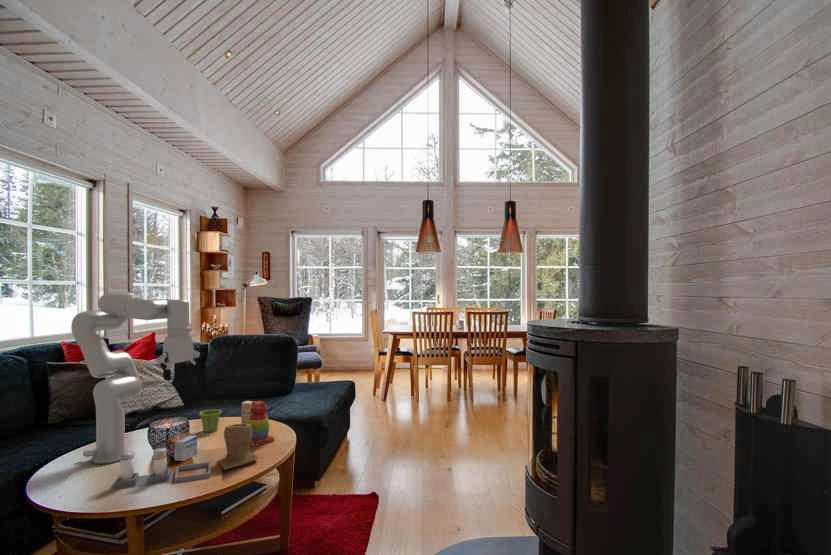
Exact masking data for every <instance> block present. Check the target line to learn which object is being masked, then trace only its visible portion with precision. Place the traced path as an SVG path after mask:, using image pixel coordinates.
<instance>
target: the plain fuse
mask: <svg viewBox="0 0 831 555" xmlns="http://www.w3.org/2000/svg"><path fill="white" fill-rule="evenodd" d="M119 466H120V467H119V471H120V472H119V473H120V474H119V475H120V481H121V480H129V479H134V473H135V452H134V451H128V452H124V453H122V454H120V461H119Z"/></svg>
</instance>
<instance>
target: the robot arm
mask: <svg viewBox="0 0 831 555" xmlns="http://www.w3.org/2000/svg"><path fill="white" fill-rule="evenodd" d="M97 307H98V308H99V309H94V310H92V309H91V310H86V311H85V310H84V311H81V312H79V313H77V314H75V316H74V317H73V319H72V321H71V325H70V327H71V329H70V330H71V334H72V336H73V339H74V340H75V342H76V343H77V345H78V346H79V348H80V350H81V352H82V356H83V358H84V361H85V364H86V366H87V369H88V370H89V373H90V375H91V376H92V377H93V378H94V379H95V378H97V379H101V378H106V377H107V378H106V379H103V380H100V381H99V382H98V383H96V384H95V386H94V388H93V390H92V393H93V400H94V405H95V418H96V419H95V422H96V424H95V426H96V427H95V429H96V430H95V431H96V432H95V433H96V434H95V438H96V439H95V440H96V441H95V442H96V444H95V448H93V449H89V450H87V449H86V450H83V452H82V456H84V457H85V458H87V457H91V463H92V464H96V465H105V464H106V465H107V464H113V463H117V462H120V454H122V453H124V452H129V450H127V449H125V446H126V445H125V441H126V440H125V439H126V437H125V435H126V431H125V429H126V428H125V425H126V424H125V422H126V420H125V419H126V416H125V414H126V413H125V409H124V407H123V406H122V404H121V403H120V402H121V401H123V400H127V399H130V398H133V397H136V396H138V395H139V394H140V393H141V391H142V381H141V377H140V374H139V372H138V370H137V367H136V365H135V362H134V360H133V358H132V356H131V355H130V354H129V353H128V352H126V351H124V350H121V351H120V350H118V351H112V352H111V350H110V349H109V348H108V345H107V343H106V341H105V340H104V338H103V337H102V336H100V335H99V334H97V332H102V331H110V330H116V329H119V328H120V327H121V326H122V325H123V324H125V322H126V321H127V320H128V319H129V318H130V319H133V320H140V321H141V320H142V321H143V320H144V321H151V320H152V321H153V320H164V319H166V321H167V322H166V324H167V326H166V327H167V328H166V329H167V331H166V332H167V334H166V336H165V337H164V342H163V345H162V346H163V348H162V354H161V355H160V356H159V357H157V358H155V361H156V363H157V364H158V367H159V368H161V370H162V371H163V372H162V374H163V376H162V377H163V380H164V381H171V380H172V377H171V374H172V373H171V369H170V368H171V367H172V365H173V364H180V363H186V362H187V366H186V369H187V372H186V373H187V376H191V377H193V376H195V366H196V365H197V362H198V361H199V358H200V355H201V352H200V351H198V350H196V349H194V343H193V342H194V341H193V337H192V334H191V333H190V332H192V331H193V328H192V327H190V325H191V324H190V301H189V300H187V299H185V298H184V299H179V298H178V299H171V298H161V299H160V298H158V299H143V298H142V297H141V296H139V295H138V294H134V293H132V292H125V291H124V292H108V293H104V294H103V295H101V296H100V297H99V298H98V301H97ZM112 376H114V377H112ZM115 376H116V377H115ZM108 377H110V378H108Z"/></svg>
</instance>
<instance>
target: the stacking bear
mask: <svg viewBox="0 0 831 555" xmlns="http://www.w3.org/2000/svg"><path fill="white" fill-rule="evenodd" d="M252 401H253V402H252V406H251V413H252V415H251V416H250V418H249V420H248V424H250V425H251V426H252V440H251V443H250V444H254V445H253V446H257V445H256V444H263V445H265V444H264V443H267V444H269V443H268V442H270V443H272V442H274V441H275V436H272V435H269V431H270V420H269V417H268V415H267V410H268V405H267V404H266V402H264V401H263V400H262V401H261V400H258V401H257V402H255V400H252ZM271 441H272V442H271Z"/></svg>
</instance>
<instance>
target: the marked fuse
mask: <svg viewBox="0 0 831 555" xmlns="http://www.w3.org/2000/svg"><path fill="white" fill-rule="evenodd" d="M167 451H168V449H167V447H159V448H158V447H157V448H154V450H153V470H154V476H157V475H165V474H167V469H168V467H167V466H168V465H167V464H168V462H167V458H168V456H167V455H168V454H167V453H168V452H167Z"/></svg>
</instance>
